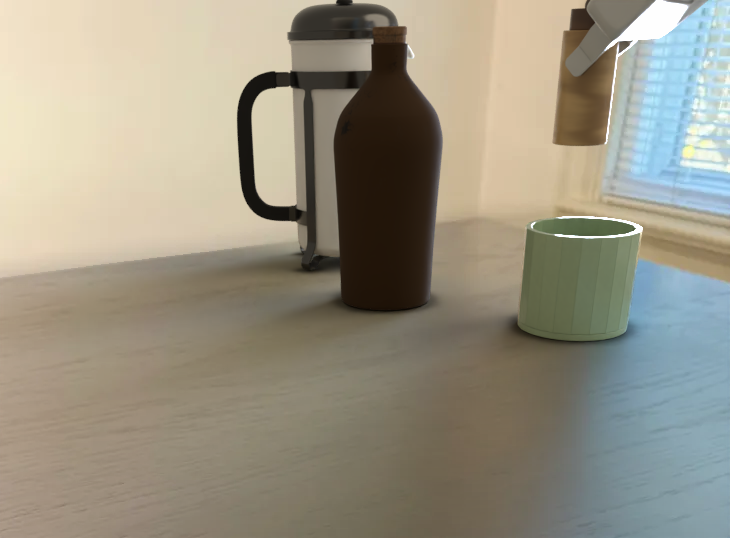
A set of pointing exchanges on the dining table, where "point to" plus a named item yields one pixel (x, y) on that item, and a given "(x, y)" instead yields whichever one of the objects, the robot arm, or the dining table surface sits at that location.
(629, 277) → the cup
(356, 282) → the olive oil
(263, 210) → the coffee press
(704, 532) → the dining table surface
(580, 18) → the pepper mill
